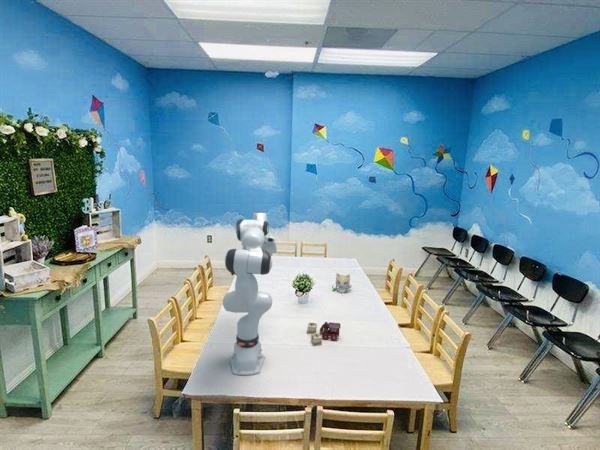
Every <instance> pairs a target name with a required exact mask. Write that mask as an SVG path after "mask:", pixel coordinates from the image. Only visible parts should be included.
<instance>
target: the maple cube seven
mask: <svg viewBox="0 0 600 450" xmlns="http://www.w3.org/2000/svg"><path fill="white" fill-rule="evenodd" d="M317 327H318V324H317V323H316V322H308V324H307V334H310V335H311V334H316V333H317Z"/></svg>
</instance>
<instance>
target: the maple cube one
mask: <svg viewBox="0 0 600 450" xmlns="http://www.w3.org/2000/svg"><path fill="white" fill-rule="evenodd" d="M310 335H311V337H310V342H311V344H312V346H315V347H316V346H322V344H323V343H322V342H323V338H322V335H320V332H318V333H317V332H316V334H310Z"/></svg>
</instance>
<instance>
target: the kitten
mask: <svg viewBox="0 0 600 450" xmlns="http://www.w3.org/2000/svg"><path fill="white" fill-rule="evenodd" d="M335 276H336V277H335V287H334V285H332V286H331V288H332V292H335V291H336V290H337V291H338V292H339V294H341V293H342V294H344V293H346V292H347V291H348V290H350V289H351V288H352V286H353V285H352V284H351V283H350V280H351V279H350V278H351V275H350V274H346V275H342V274H340V273H338V272H336V275H335Z"/></svg>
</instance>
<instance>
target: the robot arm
mask: <svg viewBox="0 0 600 450" xmlns="http://www.w3.org/2000/svg"><path fill="white" fill-rule="evenodd" d="M269 223H270V222H268V216H267V212H265V211H254V212H253V214H252V219H246V218H245V219H244V218H240V219H238V220H237V221H236V223H235V227H234V230H235V234H236V239H237V240H238V241H240V242H241V246H242V249H237V248H231V249H229V250H227V252H226V254H225V256H224V264H225V268H226V270H227V271H228V272H230V275H231V276H234V275H235V276H236V278H235V279H236V280H235V284H234V290H232V291H230V292H227V293H226V294H225V295H224V296H223V298H222V306H223V309H224V310H225V311H226V312H229V313H234V314H235V313H236V314H237V313H240V314H242V313H247V314H246V315H243V316H241V317H240V318H239V319H238V321H237V323H236V324H237V325H236V338H235V339H236V342H234V343H233V353H232V355H230V356H229V359H230V360H229V361H230V365H231V371H232V374H234V375H236V376H237V375H238V376H254V375H258V374H260V373H261V370H262V367H263V364H264V362H265V357H266V356H265V355H264V354H263V353H262V349H263V348H262V343H261V342H260V341H259V339H260V337H259V336H260V335H259V323H260V319H261V318H262V317H263V315H264V314H265V313H267V312H268V311H270V310H271V308H272V305H273V298H272V295H271V294H270V293H269V292H266V291H260V290H259V285H258V284H259V283H258V281H257V277H255V275H263V276H264V275H268V274H269V273H270V271H271V269H272V267H273V259H272V255H271V254H276V253H277V243H276V242H275V239H276V238H275V236H273V235H271V234H269V232H270V231H269V230H270V229H269V228H270V227H269V226H270V224H269Z"/></svg>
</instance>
